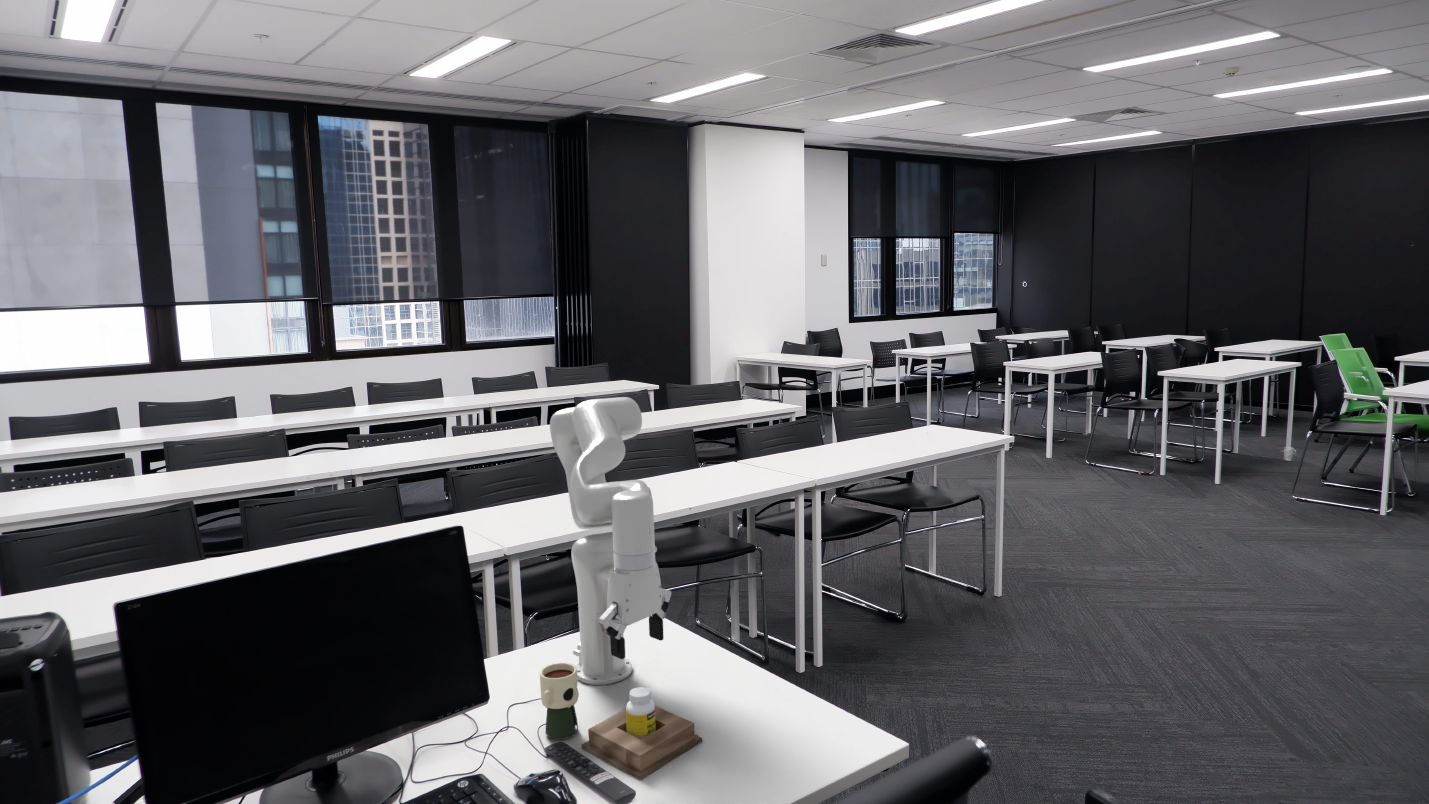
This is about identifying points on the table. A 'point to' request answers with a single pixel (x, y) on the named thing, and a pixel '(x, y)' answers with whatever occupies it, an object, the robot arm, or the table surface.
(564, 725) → the character mug
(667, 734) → the bottle holder
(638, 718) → the supplement bottle
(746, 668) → the table surface
